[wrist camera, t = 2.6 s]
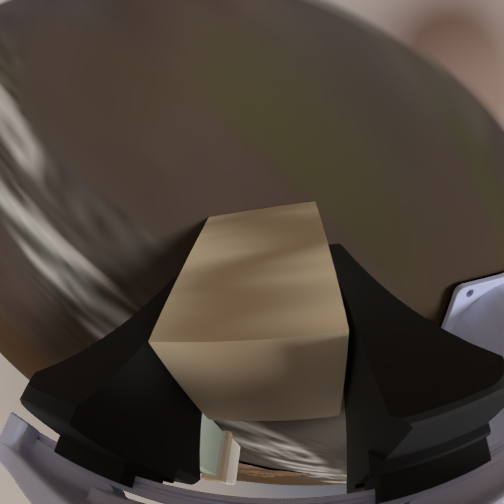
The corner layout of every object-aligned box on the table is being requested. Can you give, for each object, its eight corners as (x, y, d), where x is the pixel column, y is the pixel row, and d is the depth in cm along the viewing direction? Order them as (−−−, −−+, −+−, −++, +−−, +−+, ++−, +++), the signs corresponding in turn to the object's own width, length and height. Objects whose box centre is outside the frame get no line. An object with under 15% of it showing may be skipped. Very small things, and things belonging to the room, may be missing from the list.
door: (181, 381, 17) (163, 442, 13) (222, 431, 22) (215, 474, 18) (161, 379, 17) (142, 437, 13) (207, 430, 22) (199, 472, 18)
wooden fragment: (154, 448, 34) (152, 453, 33) (166, 438, 28) (165, 444, 27) (286, 476, 38) (286, 481, 37) (323, 467, 33) (323, 472, 32)
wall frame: (160, 335, 14) (128, 419, 10) (243, 446, 25) (238, 488, 20) (133, 334, 15) (98, 411, 10) (227, 445, 26) (220, 486, 21)
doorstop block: (315, 201, 10) (349, 330, 4) (322, 287, 12) (339, 415, 7) (208, 217, 10) (148, 341, 5) (233, 296, 12) (208, 419, 7)
